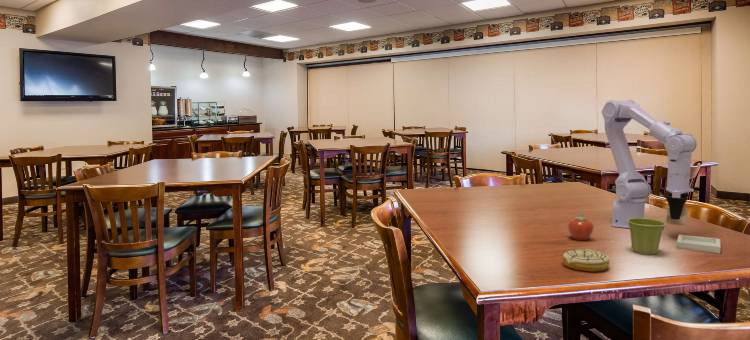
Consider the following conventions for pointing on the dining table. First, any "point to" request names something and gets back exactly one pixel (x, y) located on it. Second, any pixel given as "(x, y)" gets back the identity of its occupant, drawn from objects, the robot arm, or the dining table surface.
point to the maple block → (674, 221)
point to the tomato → (580, 228)
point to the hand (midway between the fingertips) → (675, 217)
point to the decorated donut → (586, 260)
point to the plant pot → (645, 234)
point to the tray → (698, 243)
